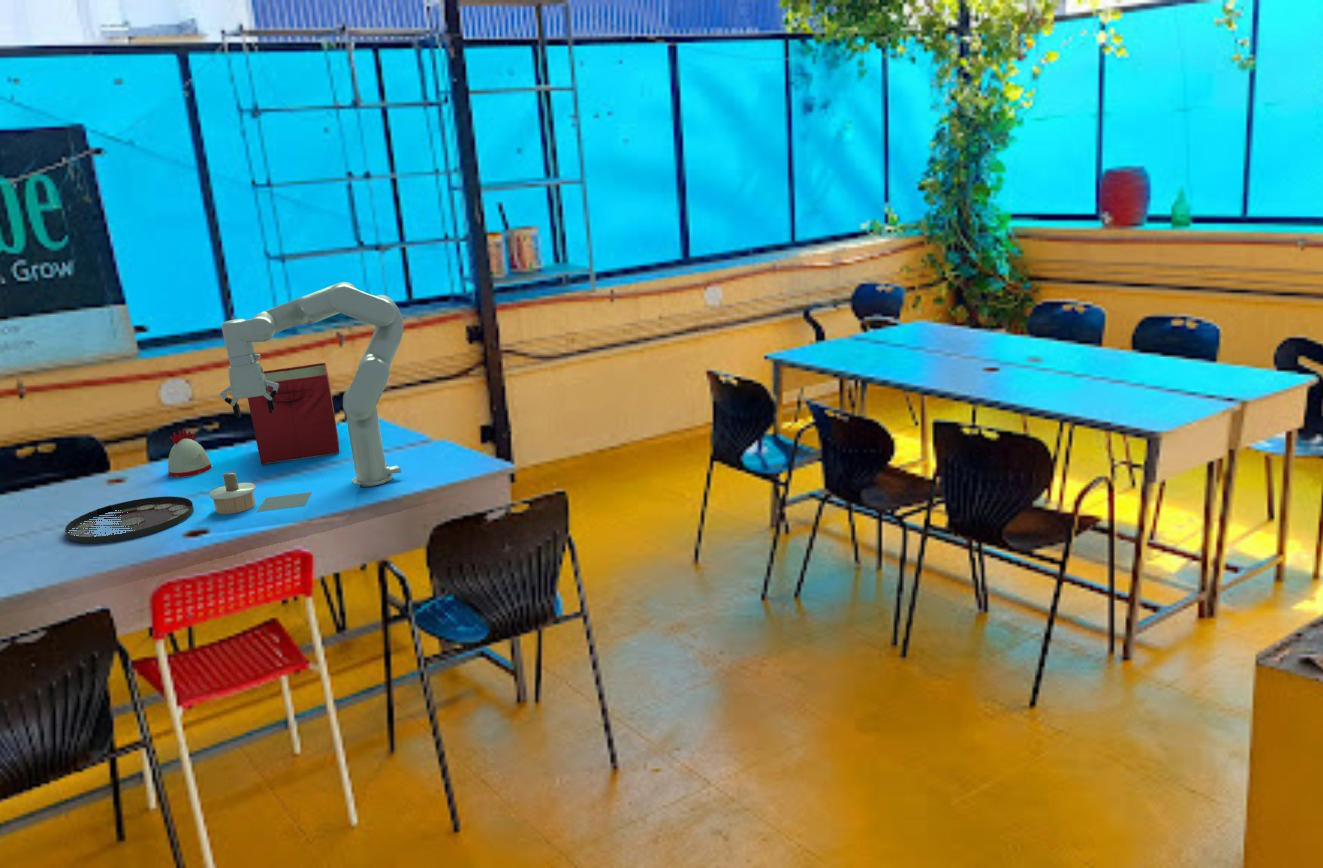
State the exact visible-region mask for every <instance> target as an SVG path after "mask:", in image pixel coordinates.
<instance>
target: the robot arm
mask: <svg viewBox="0 0 1323 868" xmlns="http://www.w3.org/2000/svg"><path fill="white" fill-rule="evenodd" d="M338 314H343V315H344V316H348V317H349V318H353V319H355V320H358V321H361V322H363V323H365V324H369V325H372V326H374V331H373V334H372V336H371V339H370V340H369V344H368V345H367V348H366V350H365V352H364V353H363V356H362V358H361V359H360V360H359V362H358V364H357V365H358V366H357V370H356V373H355V375H354V377H353V379H352V382H351V383H350V385H349V386H348V387H347V388H346V389H345V391H344V393H343V396H342V409H343V412H344V414H345V417H346V424H347V430H348V434H349V435H348V436H349V442H350V447H351V448H350V449H351V454H352V460H353V465H354V470H355V471H354V472H355V477H354V478H352V480H351V482H352V484H354V485H359V487H360V488H363V487H364V488H366V487H368V488H369V487H374V486H379V485H382V484H383V485H384V484H385V483H387V482H389V481H392V479H394V477H393V474H401V472H402V470H401V466H398V465H395V466H389V465H388V463H387V462H386V460H385V452H384V447H383V440H382V434H381V428H380V421H379V414H378V408H377V406H378V404H379V401H380V400H381V397H382V395H383V393H384V391H385V389H386V386H387V384H388V382H389V379H390V374H391V371H390V370H391V369H390V368H391V365H392V363H393V361H394V358H395V356H396V354H397V352H398V349H399V346H400V343H401V341H402V339H403V334H404V319H403V315H402V312H401V310H400V308H399V307H398V306H397V304H396V303H395V301H394V300H393V299H392V298H390V297H389V296H387V295H384V294H378V295H373V294H369V293H367V292H365V291H361V290H359V289H357V288H356V287H355V285H354V284H352V283H350V282H347V281H342V282H337V283H335V284H333V285H330V286H328V287H325V288H322V289H320V290H317V291H314V292H312V293H309V294H306V295H303V296H301V297H298V298H296V299H294V300H291V301H288V302H286V303H283V304H280V305H277V306H275V307H272V308H269V309H266V310H264V311H261V312H259V313H257V314H256V315H254V316H253V317H252V318H250V319H245V318H237V319H230V320H226V321H224V322H222V324H221V331H222V335H223V339H224V340H223V341H224V344H225V348H226V352H227V356H228V357H227V358H228V361H229V367H228V378H229V386H228V387H227V388H225V389H223V391H221V392H220V393H219V395H220V397H221V398H222V399H223V400H224V402H225V403H227V404H228V405H230V406H231V407H232V410H233V414H234V416H235V417H236V419H240V418H241V417H242V412H241V408H240V404H239V403H238V400H244V399H248V398H250V397H256V396H262V395H263V396H264V397H266V398H267V399H268V401H267V404H268V408H269V413H273V410H274V409H275V407H274V402H273V397H274V396H275V395H276V393H277V391H278V387H279V384H278V383H275V382H271V381H268V380H266V378H265V374H264V371H265V370H264V369H263V367H262V365H261V362H260V361H258V360H259V359H261V354H260V353H256V352H255V348H254V345H253V343H257V342H259V343H260V342H261V343H263V342H267V341H269V340H271V339H272V338H273V337H274V335H275V334H278V333H281V332H282V331H283V332H284V331H285V330H289V329H291V328H293V327H297V326H302V325H311V324H315V323H318V322H320V321H322V320H325V319H328V318H330V317H333V316H336V315H338ZM268 386H271V387H273V392H272V393H269V392H268ZM229 392H231V395H232V398H230V397H229V395H228V394H229Z"/></svg>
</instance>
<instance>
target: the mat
mask: <svg viewBox="0 0 1323 868" xmlns="http://www.w3.org/2000/svg"><path fill="white" fill-rule="evenodd" d="M312 494H313V491H309V492H301V493H293V494H292V493H291V494H285V495H284V494H282V495H276V496H270V497H269V496H268V497H265V499H264V500H263V502H262V503H261V505H260V506H259V508H258V509H257V510H256V513H260V512H269V511H275V510H283V509H291V508H292V509H293V508H299V507H306V504H307V503H308V501H309V500H310V497H311V495H312Z"/></svg>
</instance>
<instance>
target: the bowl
mask: <svg viewBox="0 0 1323 868" xmlns="http://www.w3.org/2000/svg"><path fill="white" fill-rule="evenodd" d="M212 499H213V498H212ZM213 503H214V509H215V513H217V514H219V515H231V514H237V513H238V514H239V513H241V512H244V511H248V510H251V509H253V508H254V507H255V506H256V499H255V494H254V491H253V492H251V493H249V494H246V495H243V496H239V497H235V498H229V499H213Z"/></svg>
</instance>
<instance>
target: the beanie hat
mask: <svg viewBox="0 0 1323 868" xmlns="http://www.w3.org/2000/svg"><path fill="white" fill-rule="evenodd" d="M195 437H196V433H195V432H194V433H193V434H192V436H191V431H190V430H189V431H188V432H187V431H186V429H183V430H182V431H181V430H178V434H177V433H176V432H175V431H174V432H173V437H172V436H169V439H171V441H172V442H173V443H174V445H173V446H172V448H171V449H170V452H169V455H168V459H167V461H168V462H167V471H168V475H169V477H171V478H185V477H192V476H196V475H200V474H203V473H206V472H208V471H209V470H212V463H211V459H210V457H209V456H208V454H207V452H206V450H205V448H204V447H203V446H202V445H201V444H199V442H198V441H196V440H195Z"/></svg>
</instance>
